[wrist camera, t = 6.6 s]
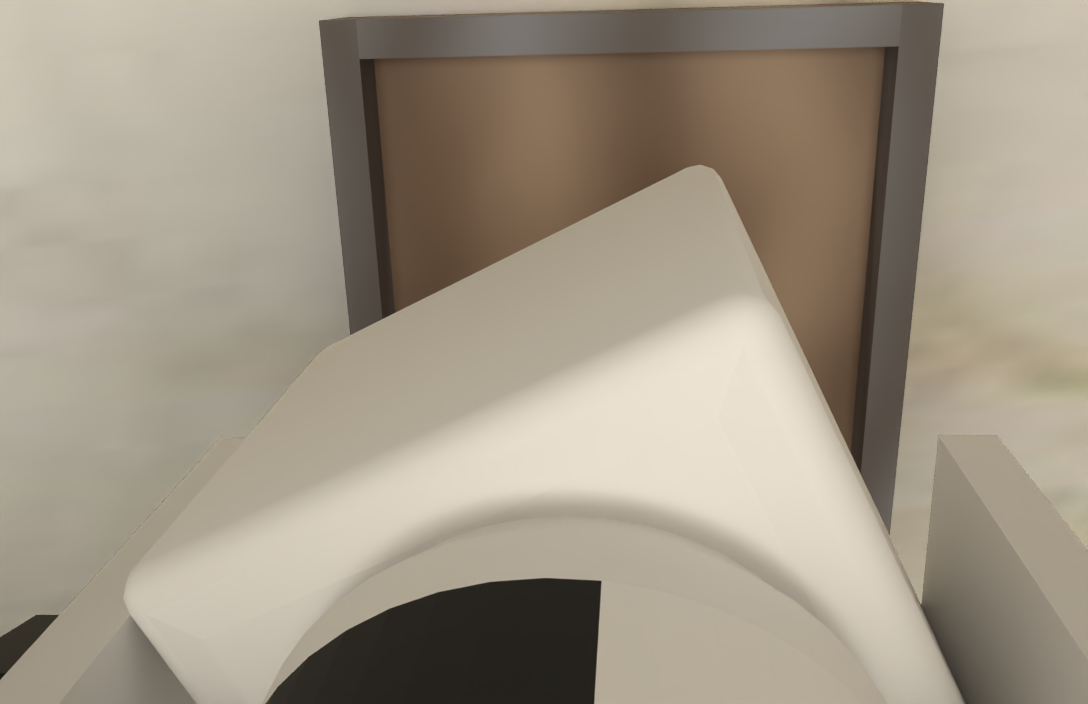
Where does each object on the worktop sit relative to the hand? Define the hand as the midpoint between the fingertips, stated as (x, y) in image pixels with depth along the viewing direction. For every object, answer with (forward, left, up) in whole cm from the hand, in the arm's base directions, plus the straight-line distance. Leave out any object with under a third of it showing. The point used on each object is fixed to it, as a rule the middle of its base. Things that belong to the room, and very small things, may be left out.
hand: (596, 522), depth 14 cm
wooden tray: (0, -1, -17) cm, 17 cm away
